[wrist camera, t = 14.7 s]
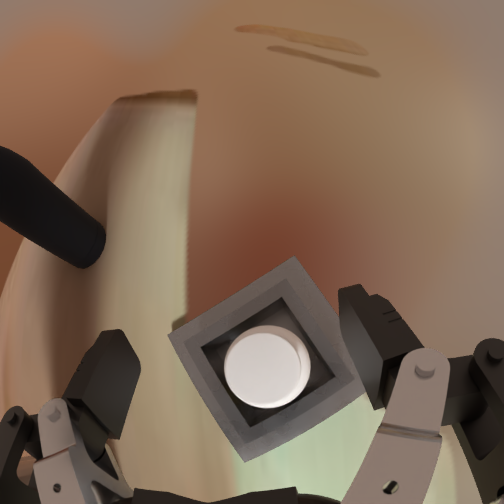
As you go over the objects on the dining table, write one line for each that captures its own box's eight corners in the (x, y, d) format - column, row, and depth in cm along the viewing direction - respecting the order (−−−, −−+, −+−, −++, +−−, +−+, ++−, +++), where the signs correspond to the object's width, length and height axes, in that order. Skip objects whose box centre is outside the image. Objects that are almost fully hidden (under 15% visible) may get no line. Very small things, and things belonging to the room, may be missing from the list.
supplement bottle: (257, 324, 24) (236, 302, 15) (315, 346, 22) (330, 340, 13) (232, 379, 22) (195, 391, 13) (290, 403, 21) (288, 432, 12)
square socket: (246, 458, 20) (234, 481, 15) (172, 336, 26) (144, 329, 20) (377, 378, 21) (399, 383, 16) (294, 259, 27) (294, 234, 22)
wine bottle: (78, 278, 30) (-116, 143, 2) (65, 243, 32) (-92, 112, 4) (112, 246, 31) (-75, 69, 3) (97, 213, 33) (-52, 54, 5)
